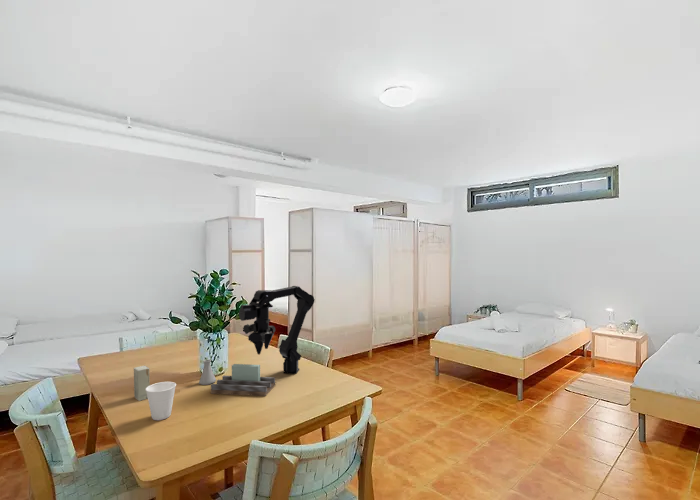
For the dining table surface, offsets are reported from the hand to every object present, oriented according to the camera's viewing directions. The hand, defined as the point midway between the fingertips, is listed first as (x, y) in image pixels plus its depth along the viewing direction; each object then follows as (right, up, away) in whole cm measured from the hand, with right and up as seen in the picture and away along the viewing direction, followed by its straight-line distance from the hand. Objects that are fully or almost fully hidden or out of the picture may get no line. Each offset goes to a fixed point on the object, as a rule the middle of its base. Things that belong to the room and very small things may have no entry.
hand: (262, 351), depth 168 cm
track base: (-5, -13, -11) cm, 18 cm away
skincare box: (-45, -14, -19) cm, 51 cm away
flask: (-24, -14, -3) cm, 28 cm away
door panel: (-5, -12, -9) cm, 15 cm away
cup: (-28, -14, -37) cm, 48 cm away
